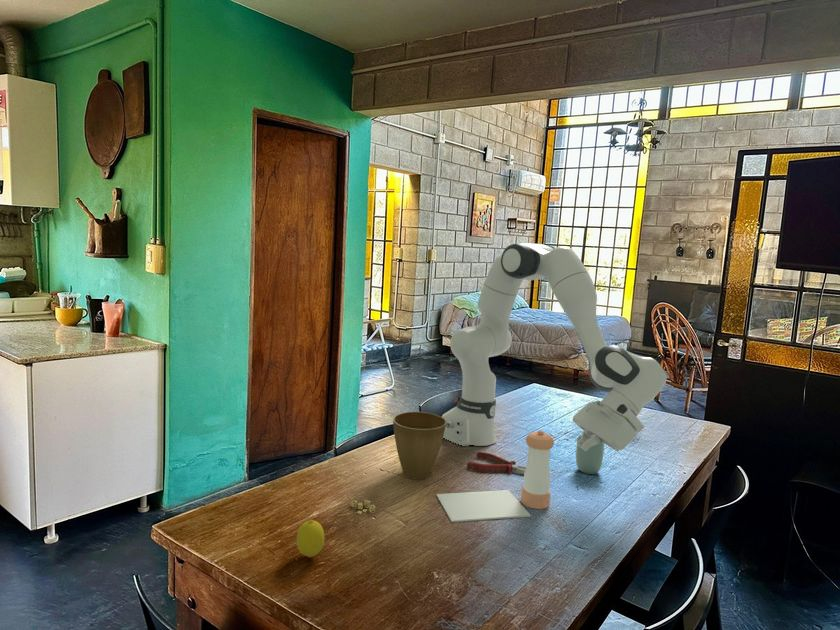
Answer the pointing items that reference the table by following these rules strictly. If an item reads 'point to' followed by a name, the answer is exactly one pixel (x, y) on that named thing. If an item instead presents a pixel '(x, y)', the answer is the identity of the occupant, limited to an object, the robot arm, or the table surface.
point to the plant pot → (418, 441)
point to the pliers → (499, 467)
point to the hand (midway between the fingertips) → (580, 447)
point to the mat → (481, 505)
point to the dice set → (366, 504)
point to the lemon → (310, 538)
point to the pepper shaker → (537, 471)
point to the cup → (589, 458)
